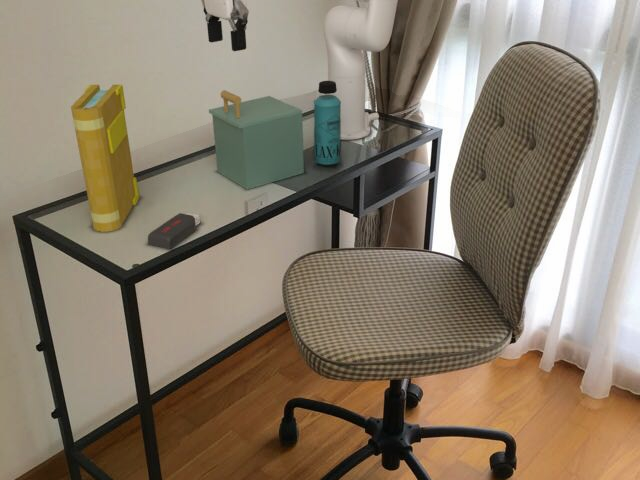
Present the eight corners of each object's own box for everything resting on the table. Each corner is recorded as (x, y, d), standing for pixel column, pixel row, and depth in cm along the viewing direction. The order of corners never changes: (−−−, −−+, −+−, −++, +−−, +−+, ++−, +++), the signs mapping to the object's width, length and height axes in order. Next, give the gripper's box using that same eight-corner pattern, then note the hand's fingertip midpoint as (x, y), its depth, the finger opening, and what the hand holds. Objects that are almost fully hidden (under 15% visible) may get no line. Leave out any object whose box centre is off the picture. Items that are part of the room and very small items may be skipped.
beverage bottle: (308, 166, 188) (306, 82, 177) (327, 158, 192) (326, 76, 181) (328, 173, 184) (327, 87, 173) (347, 165, 188) (347, 81, 177)
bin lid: (239, 128, 168) (237, 102, 165) (208, 113, 178) (206, 88, 175) (302, 113, 176) (301, 88, 173) (269, 99, 186) (268, 75, 183)
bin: (247, 189, 176) (243, 127, 169) (217, 171, 186) (211, 112, 178) (303, 173, 184) (302, 113, 176) (272, 156, 193) (269, 99, 186)
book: (109, 197, 174) (89, 84, 160) (139, 197, 174) (122, 84, 160) (87, 231, 160) (64, 110, 146) (120, 231, 159) (100, 110, 146)
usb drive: (148, 244, 154) (146, 231, 153) (182, 220, 163) (181, 208, 162) (170, 249, 152) (168, 236, 151) (204, 224, 161) (202, 212, 160)
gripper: (259, -40, 152) (264, 50, 162) (215, -49, 164) (222, 35, 173) (225, -36, 149) (232, 56, 158) (183, -46, 161) (192, 40, 170)
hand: (227, 45), depth 166 cm, fingers open, 9 cm apart
